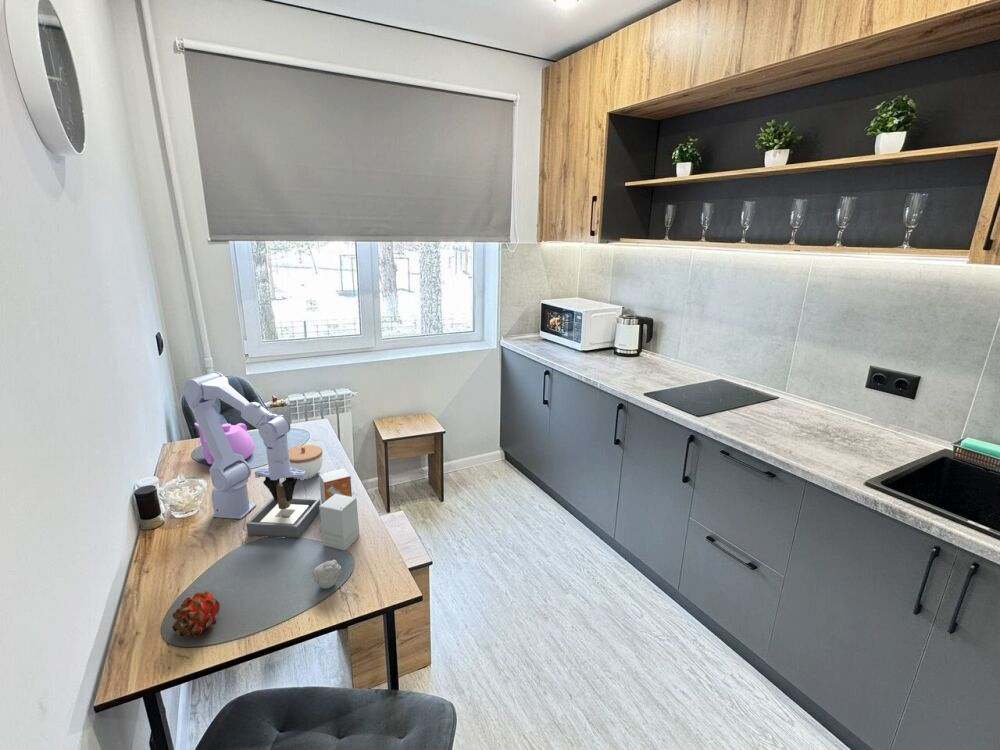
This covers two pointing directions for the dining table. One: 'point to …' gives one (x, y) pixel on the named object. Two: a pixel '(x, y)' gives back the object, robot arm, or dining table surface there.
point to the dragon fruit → (196, 614)
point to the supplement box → (339, 521)
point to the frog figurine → (327, 574)
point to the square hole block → (284, 518)
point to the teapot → (231, 441)
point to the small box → (335, 484)
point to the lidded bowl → (306, 459)
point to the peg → (281, 497)
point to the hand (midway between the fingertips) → (283, 499)
